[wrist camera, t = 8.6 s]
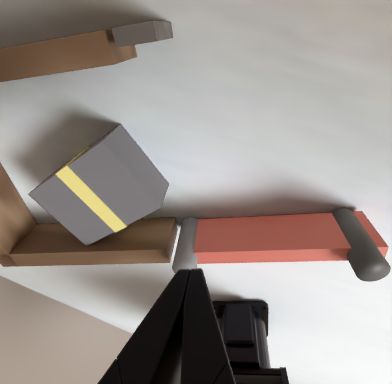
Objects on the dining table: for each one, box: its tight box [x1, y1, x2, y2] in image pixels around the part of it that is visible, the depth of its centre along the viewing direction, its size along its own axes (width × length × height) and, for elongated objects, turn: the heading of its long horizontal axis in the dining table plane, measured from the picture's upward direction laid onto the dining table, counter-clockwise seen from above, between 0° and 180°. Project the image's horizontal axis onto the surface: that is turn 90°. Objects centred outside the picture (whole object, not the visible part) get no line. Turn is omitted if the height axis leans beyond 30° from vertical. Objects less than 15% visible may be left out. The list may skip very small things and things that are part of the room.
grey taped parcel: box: [28, 124, 169, 246], centre depth 20 cm, size 6×8×4 cm
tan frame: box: [0, 21, 178, 267], centre depth 19 cm, size 16×18×4 cm
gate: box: [172, 208, 391, 281], centre depth 20 cm, size 15×2×6 cm, turn 98°
